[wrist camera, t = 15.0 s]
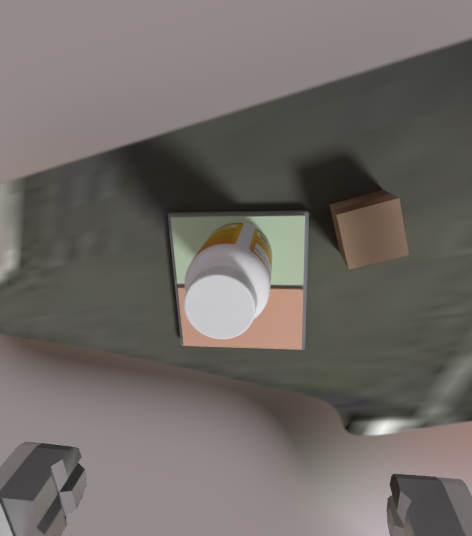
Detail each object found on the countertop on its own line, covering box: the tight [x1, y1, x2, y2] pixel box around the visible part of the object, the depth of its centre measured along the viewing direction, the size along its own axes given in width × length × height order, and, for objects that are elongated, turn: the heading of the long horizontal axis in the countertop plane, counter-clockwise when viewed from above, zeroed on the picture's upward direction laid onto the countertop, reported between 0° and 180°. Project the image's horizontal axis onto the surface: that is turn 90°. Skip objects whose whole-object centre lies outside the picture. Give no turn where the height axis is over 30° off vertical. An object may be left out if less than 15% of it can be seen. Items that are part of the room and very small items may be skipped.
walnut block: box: [329, 190, 409, 269], centre depth 26 cm, size 4×4×4 cm
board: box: [168, 210, 309, 350], centre depth 30 cm, size 11×12×1 cm
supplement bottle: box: [184, 222, 272, 339], centre depth 24 cm, size 5×5×10 cm
